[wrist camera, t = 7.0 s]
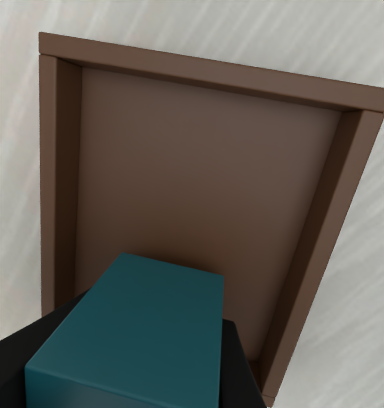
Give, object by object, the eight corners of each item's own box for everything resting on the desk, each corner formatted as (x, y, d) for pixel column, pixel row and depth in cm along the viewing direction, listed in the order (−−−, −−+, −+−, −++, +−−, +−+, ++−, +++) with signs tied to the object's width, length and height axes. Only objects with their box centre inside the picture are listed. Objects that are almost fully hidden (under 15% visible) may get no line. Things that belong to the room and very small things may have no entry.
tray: (266, 367, 12) (272, 408, 11) (66, 316, 13) (40, 346, 11) (361, 96, 9) (395, 89, 7) (74, 48, 10) (37, 30, 8)
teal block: (113, 332, 11) (27, 485, 6) (121, 250, 10) (22, 365, 5) (204, 356, 11) (183, 535, 6) (224, 275, 10) (218, 421, 5)
